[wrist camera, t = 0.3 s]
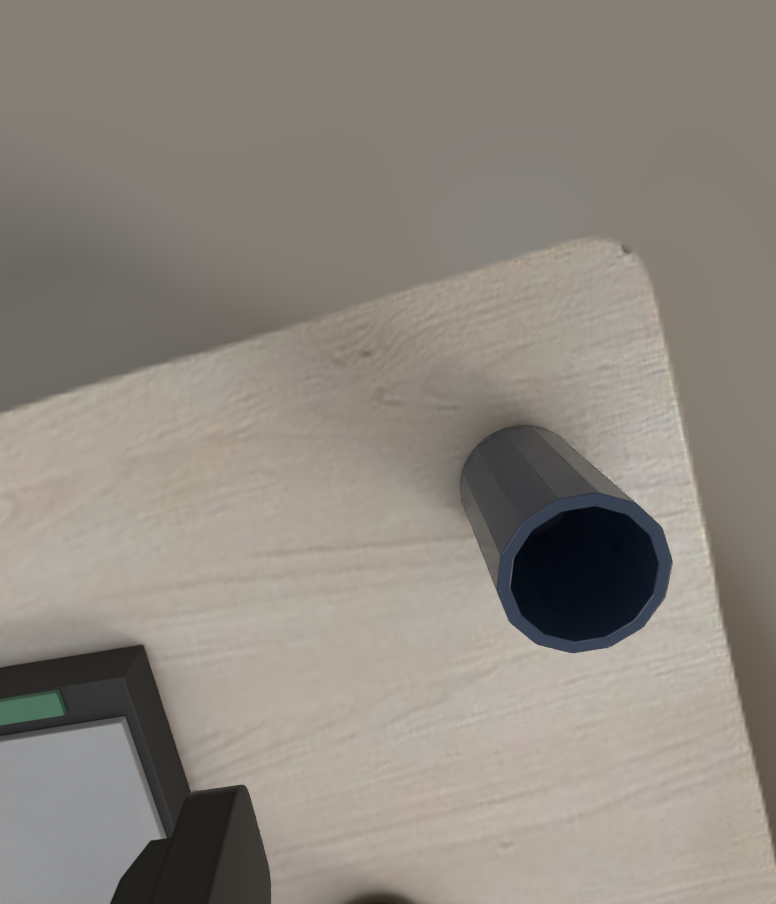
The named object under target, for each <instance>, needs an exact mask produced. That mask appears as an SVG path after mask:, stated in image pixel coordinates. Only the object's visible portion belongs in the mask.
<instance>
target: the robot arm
mask: <svg viewBox="0 0 776 904" xmlns="http://www.w3.org/2000/svg"><path fill="white" fill-rule="evenodd" d="M110 904H271V880H270V871H269V865H268V861H267V857H266V854H265V850H264V846H263V843H262V839H261V835H260V831H259V828H258V824H257V820H256V817H255V813H254V809H253V806H252V802H251V798H250V795H249V792H248V789H247V788H246V786H245V785H236V786H229V787H222V788H215V789H208V790H201V791H194V792H191V793H189V794H188V795H187V797H186V799H185V801H184V803H183V806H182V808H181V811H180V814H179V817H178V820H177V822H176V825H175V828H174V831H173V834H172V837H171V838H165V839H158V840H151V841H150V842H149V843H148V844H147V845H146V847H145V848H144V849H143V851H142V852H141V853H140V854H139V856H138V857H137V858H136V859H135V861H134V862H133V863H132V865H131V866H130V867H129V868H128V870H127V871H126V872H125V873H124V875H123V876H122V877H121V879H120V881H119V883H118V885H117V888H116V890H115V893H114V895H113V897H112V900H111V902H110Z"/></svg>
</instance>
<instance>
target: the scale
mask: <svg viewBox="0 0 776 904" xmlns="http://www.w3.org/2000/svg"><path fill="white" fill-rule="evenodd" d="M189 793H190V790H189V787H188V784H187V781H186V778H185V775H184V772H183V768H182V765H181V762H180V759H179V756H178V753H177V750H176V747H175V743H174V740H173V737H172V734H171V731H170V728H169V725H168V722H167V719H166V715H165V712H164V709H163V706H162V703H161V700H160V697H159V694H158V690H157V687H156V684H155V681H154V678H153V675H152V672H151V669H150V665H149V662H148V659H147V656H146V653H145V650H144V647H143V646H142V645H141V646H135V647H129V648H123V649H116V650H110V651H104V652H98V653H92V654H86V655H79V656H73V657H67V658H61V659H55V660H49V661H43V662H36V663H30V664H24V665H18V666H12V667H6V668H0V904H110V902H111V900H112V897H113V895H114V893H115V890H116V888H117V885H118V883H119V881H120V879H121V877H122V876H123V875H124V873H125V872H126V871H127V870H128V868H129V867H130V866H131V865H132V863H133V862H134V861H135V859H136V858H137V857H138V856H139V854H140V853H141V852H142V851H143V849H144V848H145V847H146V845H147V844H148V843H149V842H150V841H151V840H158V839H165V838H171V837H172V834H173V831H174V828H175V825H176V822H177V820H178V817H179V814H180V811H181V808H182V806H183V803H184V801H185V799H186V797H187V795H188V794H189Z"/></svg>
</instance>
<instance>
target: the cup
mask: <svg viewBox="0 0 776 904" xmlns="http://www.w3.org/2000/svg"><path fill="white" fill-rule="evenodd" d="M460 492H461V501H462V503H463V506H464V508H465V511H466V514H467V516H468V519H469V521H470V524H471V526H472V529H473V532H474V534H475V537H476V539H477V542H478V544H479V547H480V550H481V552H482V555H483V557H484V560H485V562H486V565H487V568H488V570H489V573H490V575H491V578H492V580H493V583H494V586H495V588H496V591H497V593H498V596H499V598H500V601H501V603H502V606H503V608H504V610H505V613H506V615H507V618H508V620H509V621H510V623H511V624H512V625H513V626H515V627H516V628H517V629H518V630H520V631H521V632H522V633H523V634H524V635H526V636H527V637H528V638H529V639H530V640H532V641H533V642H534V643H535V644H538V645H541V646H545V647H549V648H553V649H557V650H561V651H565V652H569V653H578V652H584V651H590V650H597V649H603V648H609V647H611V646H613V645H615V644H616V643H618V642H620V641H621V640H623V639H625V638H626V637H628V636H630V635H632V634H633V633H635V632H637V631H638V630H640V629H642V627H644V626H645V624H646V623H647V622H648V620H649V619H650V618H651V616H652V615H653V614H654V612H655V611H656V610H657V608H658V607H659V606H660V604H661V603H662V602H663V600H664V599H665V597H666V593H667V589H668V584H669V579H670V574H671V569H672V564H673V563H672V557H671V554H670V551H669V547H668V544H667V541H666V538H665V535H664V531H663V529H662V527H661V526H660V525H659V524H658V523H657V522H656V521H655V520H654V519H653V518H652V517H651V516H650V515H648V514H647V513H646V512H645V511H644V510H643V509H642V508H641V507H640V506H639V505H638V504H637V503H636V502H634V501H633V500H632V499H631V498H630V497H629V496H627V495H626V494H625V493H624V492H623V491H622V490H621V489H619V488H618V487H617V486H616V485H615V484H614V483H613V482H611V481H610V480H609V479H608V478H607V477H606V476H605V475H603V474H602V473H601V472H600V471H599V470H598V469H597V468H595V467H594V466H593V465H592V464H591V463H590V462H589V461H587V460H586V459H585V458H584V457H583V456H582V455H580V454H579V453H578V452H577V451H576V450H575V449H574V448H572V447H571V446H570V445H569V444H568V443H567V442H566V441H564V440H563V439H562V438H561V437H560V436H559V435H557V434H554V433H553V432H550V431H548V430H546V429H543V428H539V427H534V426H514V427H509V428H505V429H503V430H500V431H497V432H496V433H494V434H492V435H490V436H489V437H487V438H486V439H484V440H483V441H482V442H481V443H480V444H478V445H477V447H476V448H475V449H474V450H473V451H472V453H471V454H470V456H469V457H468V459H467V461H466V463H465V465H464V468H463V471H462V475H461V481H460Z"/></svg>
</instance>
